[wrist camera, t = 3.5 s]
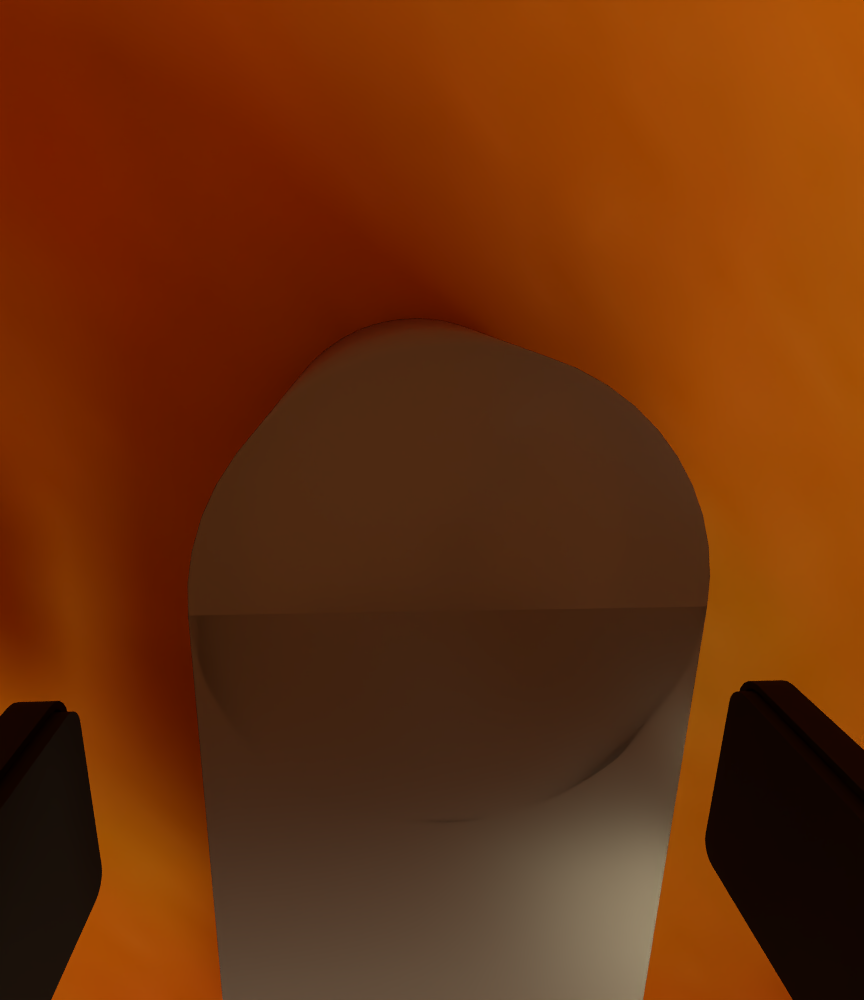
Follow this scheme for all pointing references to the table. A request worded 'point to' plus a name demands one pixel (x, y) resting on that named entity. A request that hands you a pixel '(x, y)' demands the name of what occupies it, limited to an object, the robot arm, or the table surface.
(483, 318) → the table surface
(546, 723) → the dongle
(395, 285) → the table surface
